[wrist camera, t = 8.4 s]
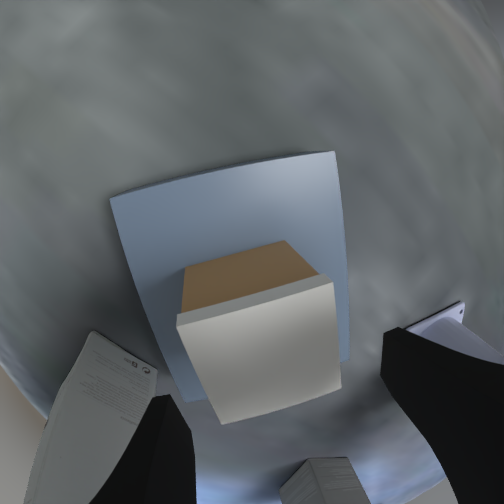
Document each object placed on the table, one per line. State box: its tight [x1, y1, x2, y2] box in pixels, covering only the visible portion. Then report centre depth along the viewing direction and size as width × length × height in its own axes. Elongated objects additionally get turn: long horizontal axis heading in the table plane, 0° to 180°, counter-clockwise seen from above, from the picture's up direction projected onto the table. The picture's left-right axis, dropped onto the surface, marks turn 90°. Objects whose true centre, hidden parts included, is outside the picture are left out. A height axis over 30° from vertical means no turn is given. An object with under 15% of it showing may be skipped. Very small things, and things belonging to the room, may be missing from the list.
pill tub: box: [176, 240, 341, 425], centre depth 13 cm, size 5×5×6 cm
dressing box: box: [110, 151, 349, 403], centre depth 17 cm, size 13×11×4 cm
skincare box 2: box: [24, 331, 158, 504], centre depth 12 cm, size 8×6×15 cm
